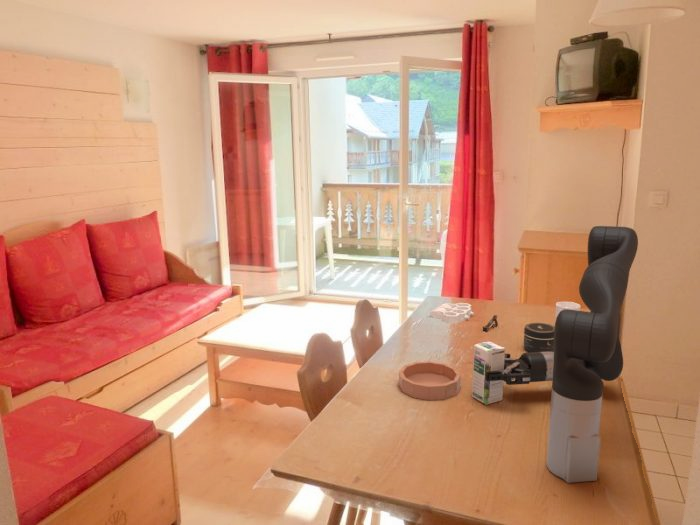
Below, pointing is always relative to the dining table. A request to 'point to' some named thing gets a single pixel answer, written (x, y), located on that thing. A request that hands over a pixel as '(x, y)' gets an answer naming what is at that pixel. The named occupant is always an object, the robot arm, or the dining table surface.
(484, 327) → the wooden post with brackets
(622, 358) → the robot arm
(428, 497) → the dining table surface
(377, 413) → the dining table surface
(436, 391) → the bowl
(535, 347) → the jar
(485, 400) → the syrup box
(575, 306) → the white cup
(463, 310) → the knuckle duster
